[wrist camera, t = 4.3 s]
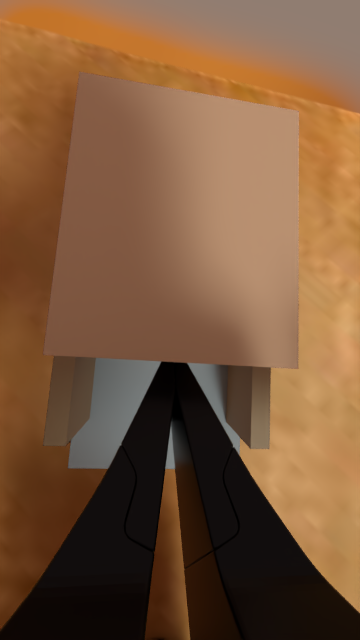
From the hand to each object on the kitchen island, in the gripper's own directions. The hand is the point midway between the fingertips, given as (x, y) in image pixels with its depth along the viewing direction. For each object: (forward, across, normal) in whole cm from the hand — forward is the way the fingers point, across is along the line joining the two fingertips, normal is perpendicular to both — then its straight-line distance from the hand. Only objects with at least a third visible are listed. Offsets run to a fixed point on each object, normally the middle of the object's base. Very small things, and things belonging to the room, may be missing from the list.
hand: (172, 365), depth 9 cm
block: (+8, 0, +2) cm, 9 cm away
